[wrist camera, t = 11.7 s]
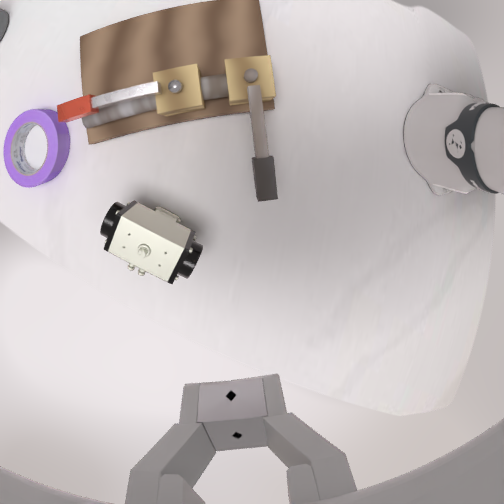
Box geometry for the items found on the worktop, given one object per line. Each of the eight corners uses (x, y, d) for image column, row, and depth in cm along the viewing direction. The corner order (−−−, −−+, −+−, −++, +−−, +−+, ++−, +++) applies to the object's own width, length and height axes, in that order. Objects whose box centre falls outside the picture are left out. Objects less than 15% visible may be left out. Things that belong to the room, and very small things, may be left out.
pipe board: (256, 2, 29) (265, -32, 19) (280, 181, 39) (296, 196, 30) (85, 40, 28) (52, 21, 19) (108, 210, 39) (77, 232, 29)
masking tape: (75, 173, 36) (63, 178, 33) (22, 189, 36) (9, 195, 32) (67, 99, 32) (54, 98, 28) (14, 123, 31) (0, 124, 28)
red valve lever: (68, 106, 26) (57, 105, 23) (182, 78, 27) (177, 73, 24) (70, 122, 27) (58, 122, 24) (183, 95, 27) (179, 91, 25)
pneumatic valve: (135, 188, 38) (101, 210, 27) (208, 225, 41) (200, 260, 30) (121, 222, 39) (86, 254, 28) (190, 257, 42) (179, 301, 31)
